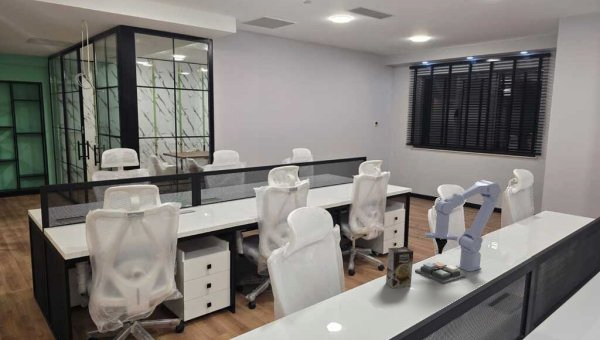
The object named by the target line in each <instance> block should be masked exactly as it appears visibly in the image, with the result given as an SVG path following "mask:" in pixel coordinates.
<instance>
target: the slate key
mask: <svg viewBox="0 0 600 340" xmlns="http://www.w3.org/2000/svg"><path fill="white" fill-rule="evenodd" d="M422 266H423V267H424V268H426V269H428V270H432V269H436V265H434V264H433V263H431V262H425V263H423V264H422Z"/></svg>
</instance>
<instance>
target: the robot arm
mask: <svg viewBox="0 0 600 340" xmlns="http://www.w3.org/2000/svg"><path fill="white" fill-rule="evenodd" d="M501 191H502V190H501V187H500V184H498V182H492V181H488V180H486V179H480V180H478V181H476V182H475V183H474V184H473V185H471V187H468V188H467V189H466V190H464V191H462V192H461V193H460V192H459V193H458V192H457V193H456V192H454V193H452V195H451V196H449V197H446V198H444V199H443V200H441V199H440V200H438V201H437V202H436V203H435V205H434V210H435V212H436V217H435V219H436V220H435V232H425V236H424V237H425V239H434V241H435V243H436V246H437V253H438V255H442V254H443V250H444V249H445V247H446V245H447V243H448V240H449V241H455V242H458V245H459V247H460V259H459V260H460V261H459V264H456V265H455V267H457V268H458V269H462V270H463V271H466V272H469V273H471V272H473V271H478V270H481V269H482V267H481V256H482V255H481V252H480V250H481V249H482V243H483V241H484V240H483V237H482V233H483V231H484V229H485V227H486V226H487V223H488V221H489V219H490V218H491V215H492V213H493V212H494V209H495V207H496V206H497V203H498V198H499V196H500V194H501V193H502V192H501ZM476 195H480V196H481V197H482V200H483V202H482V204H481V205H480V209H479V210H478V212H477V214H476V216H475V217H474V220H473V222H472V224H471V226H470V227H469V229H468V230H465V231H464V232H463V234H462V235H461V236H458V235H454V234H449V228H450V227H449V225H450V215H451V214H452V212H453V210H455V209H456V208H458V207H460V206H462V205H463V204H464V203H465V200H466V201H467V200H469V198H473V197H474V196H476Z"/></svg>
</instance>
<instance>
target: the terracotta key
mask: <svg viewBox="0 0 600 340" xmlns="http://www.w3.org/2000/svg"><path fill="white" fill-rule="evenodd" d="M437 262H438V263H437ZM437 262H435V263H434V262H433V263H434V265H436V266H438V267H444V266H446V265H447V264H445V265H444V263H442V262H440V263H439V261H437Z"/></svg>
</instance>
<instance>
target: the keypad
mask: <svg viewBox="0 0 600 340" xmlns="http://www.w3.org/2000/svg"><path fill="white" fill-rule="evenodd" d="M438 262H439V261H437V262H436V263H438ZM439 263H441V262H439ZM432 264H434V262H433V263H432ZM443 264H444V263H443ZM444 265H446V266H448V265H447V264H444ZM438 270H443V271H445V272H447V273H448V274H446V275H440V274H438V273H435V271H438ZM414 271H415V272H416V274H417V273H418V274H420V275H422V276H423V277H426V278H428V279H430V280H432V281H435V282H437V283H439V284H441V285H445V284H447V283H451V282H454V281H455V282H456V281H458V280H461V279H465V278H467V275H466V274H464V273H461V271H462V270H459V269H458V271H457V272H453V273H452V272H450V271H447V270H445V266H444V267H438V266H436V269H432V270H428V269H426V268H424V267H423V265H421V266H420V268H417V269H414Z"/></svg>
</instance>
